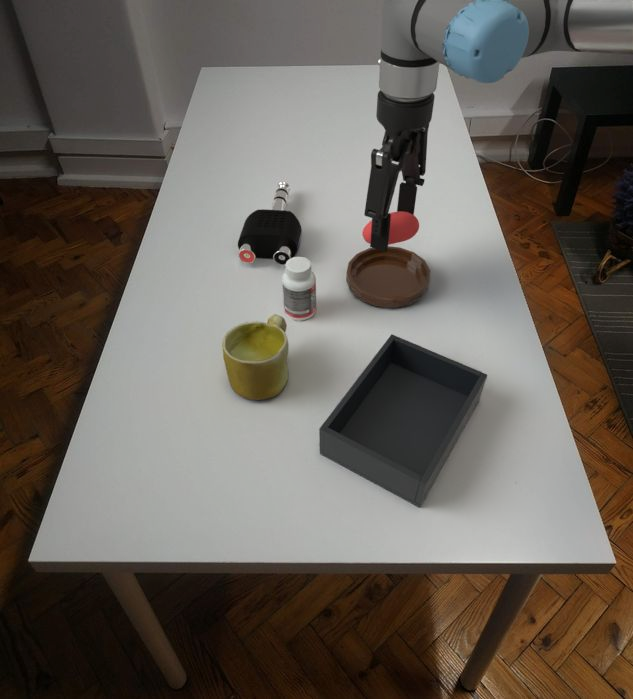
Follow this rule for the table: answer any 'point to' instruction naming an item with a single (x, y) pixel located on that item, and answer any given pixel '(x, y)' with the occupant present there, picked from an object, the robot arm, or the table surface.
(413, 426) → the bin
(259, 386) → the mug
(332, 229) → the table surface
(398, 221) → the stress ball
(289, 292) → the pill bottle
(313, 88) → the table surface
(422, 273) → the plate
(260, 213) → the audio adapter
